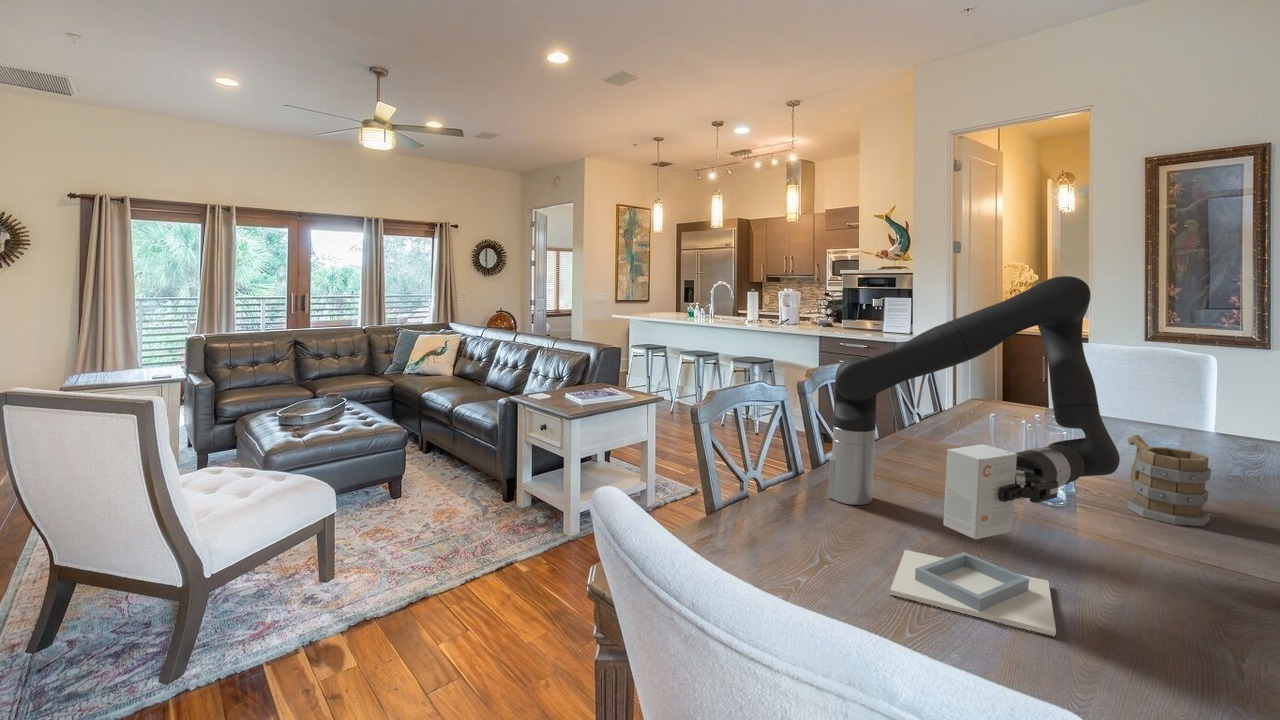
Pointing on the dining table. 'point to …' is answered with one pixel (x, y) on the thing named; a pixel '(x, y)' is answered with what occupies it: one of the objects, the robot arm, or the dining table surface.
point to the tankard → (1169, 484)
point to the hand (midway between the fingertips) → (977, 488)
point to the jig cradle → (976, 589)
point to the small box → (978, 490)
